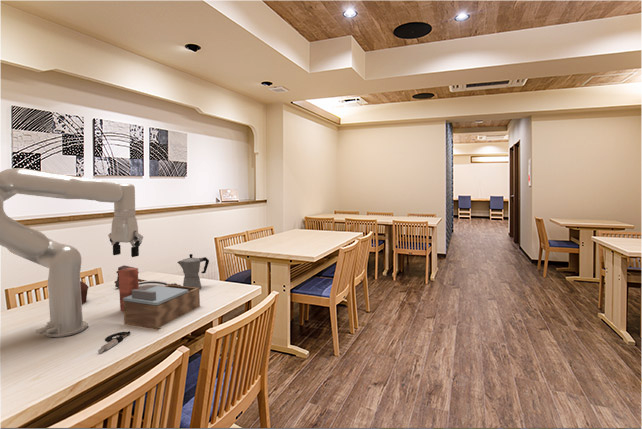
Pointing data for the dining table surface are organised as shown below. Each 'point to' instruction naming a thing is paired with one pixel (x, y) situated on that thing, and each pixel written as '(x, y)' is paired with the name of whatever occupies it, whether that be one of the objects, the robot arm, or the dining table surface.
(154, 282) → the white curved piece
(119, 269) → the hammer
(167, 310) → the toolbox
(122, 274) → the peg
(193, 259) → the coffeepot
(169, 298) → the lid
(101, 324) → the dining table surface
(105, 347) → the micrometer
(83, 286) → the muffin
